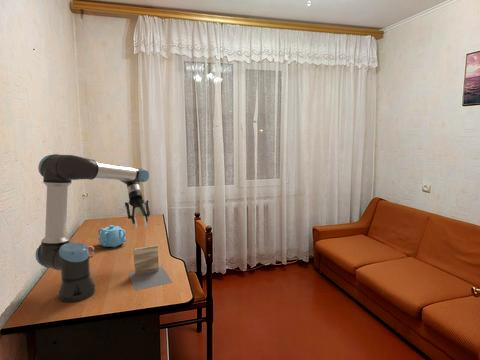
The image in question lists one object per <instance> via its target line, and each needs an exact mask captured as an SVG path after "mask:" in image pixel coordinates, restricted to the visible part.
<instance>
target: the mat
mask: <svg viewBox="0 0 480 360" xmlns="http://www.w3.org/2000/svg"><path fill="white" fill-rule="evenodd" d="M128 275H129V278H130V281H131V284H132V286H133V288H134V291H139V290H140V291H141V290H145V289H149V288H154V287H159V286H163V285H167V284H172V283H173V281H172V280H171V277H170V276H169V275H168V273H167V272H166V270H165V268H164V267H163V266H162V265H161V266H159V271H155V272H150V273H145V274H140V275H135V271H131V272H128Z"/></svg>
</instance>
